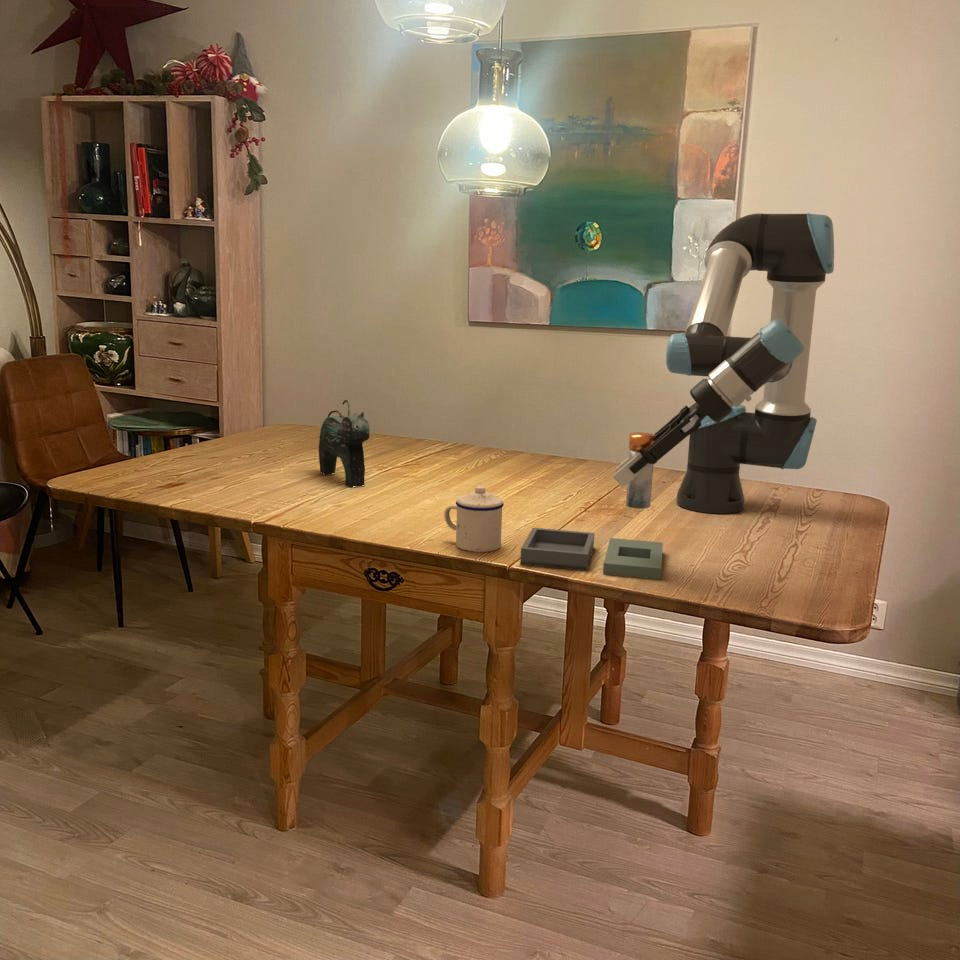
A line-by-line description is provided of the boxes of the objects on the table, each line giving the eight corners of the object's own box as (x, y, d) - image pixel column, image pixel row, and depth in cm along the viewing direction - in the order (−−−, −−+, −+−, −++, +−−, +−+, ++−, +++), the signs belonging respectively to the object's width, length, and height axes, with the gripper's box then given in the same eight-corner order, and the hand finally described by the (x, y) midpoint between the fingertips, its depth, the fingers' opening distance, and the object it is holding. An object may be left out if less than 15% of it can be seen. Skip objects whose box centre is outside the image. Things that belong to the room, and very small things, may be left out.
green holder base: (609, 547, 180) (610, 537, 179) (662, 552, 178) (663, 542, 178) (602, 573, 165) (603, 563, 164) (660, 579, 163) (661, 568, 162)
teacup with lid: (509, 543, 181) (512, 485, 178) (488, 556, 173) (490, 495, 170) (455, 534, 186) (457, 477, 183) (432, 545, 178) (434, 486, 175)
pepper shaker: (625, 501, 171) (630, 431, 168) (651, 503, 171) (656, 433, 167) (624, 507, 167) (629, 436, 164) (650, 509, 166) (655, 438, 163)
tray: (532, 542, 182) (532, 527, 181) (593, 547, 180) (594, 532, 179) (520, 564, 169) (520, 548, 168) (586, 570, 166) (587, 554, 166)
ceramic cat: (372, 487, 221) (372, 404, 217) (347, 490, 218) (347, 405, 213) (334, 470, 237) (334, 392, 233) (311, 473, 234) (310, 394, 229)
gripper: (737, 417, 153) (629, 506, 160) (732, 401, 170) (634, 482, 177) (707, 383, 153) (600, 474, 160) (704, 370, 169) (608, 453, 177)
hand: (618, 478), depth 168 cm, fingers closed on pepper shaker, 4 cm apart
